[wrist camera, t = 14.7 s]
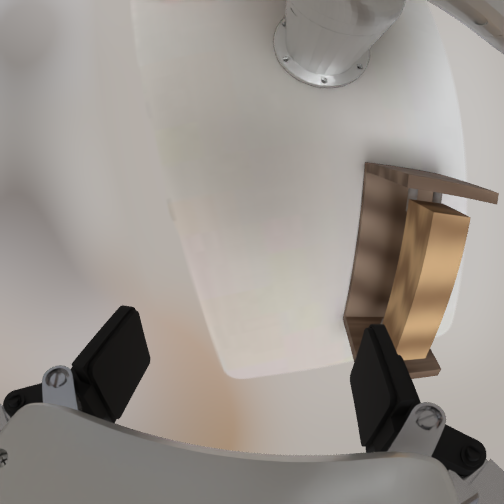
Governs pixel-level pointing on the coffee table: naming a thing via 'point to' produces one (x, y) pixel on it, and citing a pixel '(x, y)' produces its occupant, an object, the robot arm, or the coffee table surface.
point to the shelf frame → (392, 244)
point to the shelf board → (424, 275)
